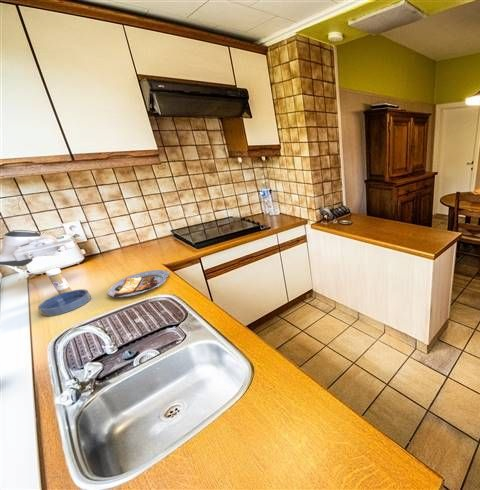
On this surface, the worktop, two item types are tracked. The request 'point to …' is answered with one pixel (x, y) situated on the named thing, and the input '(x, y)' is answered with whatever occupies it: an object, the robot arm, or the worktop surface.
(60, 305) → the bowl
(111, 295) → the food plate
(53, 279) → the sprinkles bottle
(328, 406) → the worktop surface
